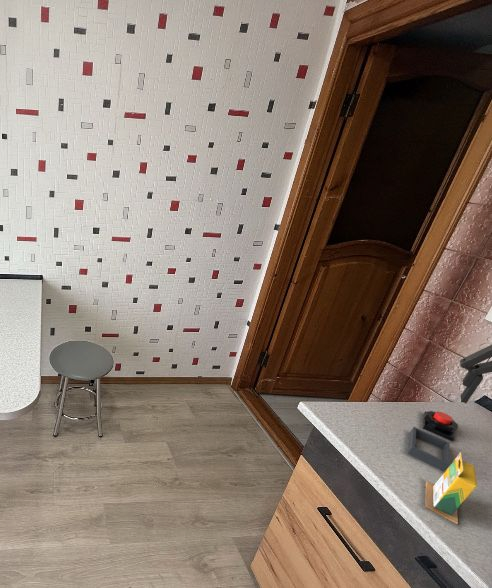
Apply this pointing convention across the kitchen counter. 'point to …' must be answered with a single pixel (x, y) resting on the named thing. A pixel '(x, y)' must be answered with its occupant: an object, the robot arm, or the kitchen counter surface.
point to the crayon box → (454, 486)
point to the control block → (438, 426)
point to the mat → (430, 506)
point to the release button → (443, 418)
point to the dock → (426, 457)
